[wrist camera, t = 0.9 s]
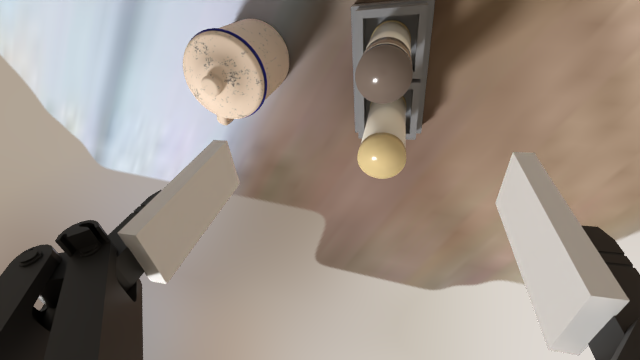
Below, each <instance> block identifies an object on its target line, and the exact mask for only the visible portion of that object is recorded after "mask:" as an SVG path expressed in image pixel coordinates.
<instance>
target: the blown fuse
mask: <svg viewBox="0 0 640 360" xmlns="http://www.w3.org/2000/svg"><path fill="white" fill-rule="evenodd" d="M412 76H413V70H412V59H411V35H410V31H409V29H408V28H407V26H406V25H405V24H404V23H402V22H401V21H398V20H387V21H384V22H382V23H381V24H379V25H378V26H377V27H376V29H375V30H374V32H373V34H372V36H371V39H370V41H369V43H368V45H367V47H366V50H365V51H364V53H363V55H362V57H361V59H360V61H359V63H358V65H357V68H356V72H355V82H356V86H357V88H358V90H359V92H360V93H361V94H362V96H363V97H365V98H366V99H367V100H369V101H371V102H374V103H378V104H387V103H391V102H394V101H396V100H398V99H399V98H401V97H402V96H403V95H404V94H405V93H406V92H407V90H408V89H409V87H410V85H411V82H412Z"/></svg>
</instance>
